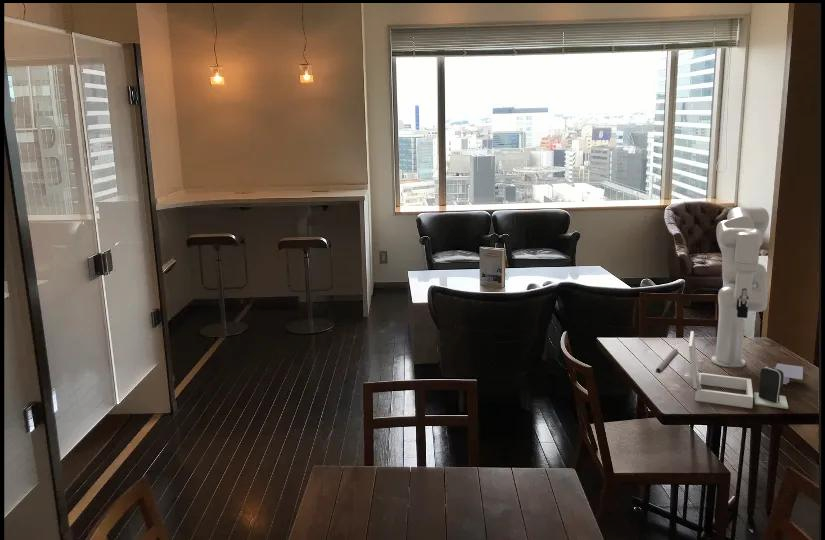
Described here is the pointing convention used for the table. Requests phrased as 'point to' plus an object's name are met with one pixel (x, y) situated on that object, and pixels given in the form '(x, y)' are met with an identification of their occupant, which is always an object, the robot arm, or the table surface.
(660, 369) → the metal rod
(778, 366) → the wedge on round base
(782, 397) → the pad
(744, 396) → the white bent frame
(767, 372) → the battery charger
